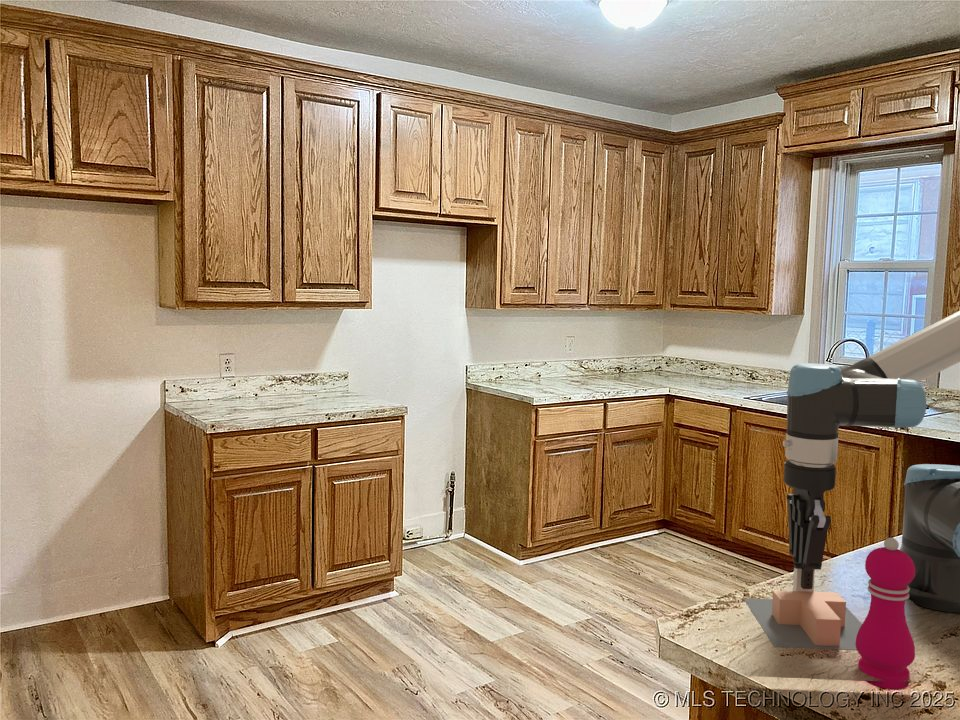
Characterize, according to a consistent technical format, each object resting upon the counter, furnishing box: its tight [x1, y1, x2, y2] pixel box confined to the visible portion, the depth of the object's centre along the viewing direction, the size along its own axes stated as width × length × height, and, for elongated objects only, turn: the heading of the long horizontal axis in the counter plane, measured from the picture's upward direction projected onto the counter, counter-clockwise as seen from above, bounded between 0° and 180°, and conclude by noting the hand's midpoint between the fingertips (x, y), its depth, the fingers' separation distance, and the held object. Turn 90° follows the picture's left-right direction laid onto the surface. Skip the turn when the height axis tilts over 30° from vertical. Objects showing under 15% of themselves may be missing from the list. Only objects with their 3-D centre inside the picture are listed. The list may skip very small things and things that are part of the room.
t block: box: [772, 589, 847, 646], centre depth 115 cm, size 10×10×4 cm
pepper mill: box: [856, 537, 916, 690], centre depth 103 cm, size 7×7×20 cm
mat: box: [743, 597, 863, 651], centre depth 118 cm, size 16×17×1 cm
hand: (802, 604), depth 121 cm, fingers closed
